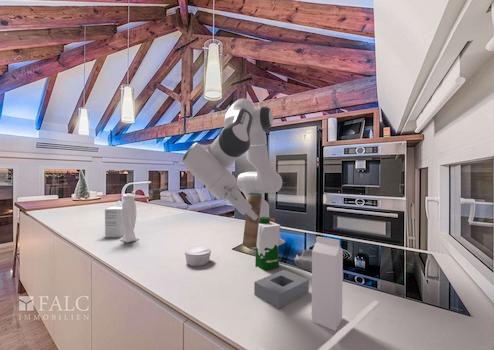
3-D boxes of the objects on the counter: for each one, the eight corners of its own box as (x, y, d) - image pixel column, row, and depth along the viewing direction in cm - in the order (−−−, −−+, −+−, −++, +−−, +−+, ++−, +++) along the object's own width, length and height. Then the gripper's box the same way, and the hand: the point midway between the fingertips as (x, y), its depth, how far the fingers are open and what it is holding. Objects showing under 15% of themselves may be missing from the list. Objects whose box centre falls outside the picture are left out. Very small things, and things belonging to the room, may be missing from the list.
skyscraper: (140, 240, 132) (140, 190, 131) (127, 244, 125) (126, 191, 125) (132, 238, 136) (132, 190, 136) (118, 241, 129) (118, 191, 129)
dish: (293, 270, 92) (293, 258, 92) (298, 258, 105) (298, 247, 105) (332, 276, 87) (332, 263, 87) (332, 263, 100) (332, 251, 100)
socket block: (284, 283, 81) (284, 269, 81) (308, 295, 73) (308, 279, 73) (254, 297, 72) (254, 281, 72) (278, 312, 64) (279, 294, 64)
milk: (319, 313, 64) (320, 233, 64) (342, 322, 60) (343, 237, 60) (311, 325, 59) (311, 238, 59) (335, 335, 55) (336, 242, 55)
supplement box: (112, 233, 147) (112, 206, 146) (127, 232, 148) (127, 206, 147) (104, 237, 137) (104, 208, 137) (121, 237, 138) (120, 208, 138)
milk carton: (270, 262, 100) (270, 216, 100) (282, 270, 92) (283, 219, 92) (252, 266, 96) (252, 217, 96) (263, 274, 88) (264, 222, 88)
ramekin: (205, 268, 94) (205, 255, 94) (179, 266, 96) (179, 253, 96) (214, 258, 105) (214, 246, 105) (191, 256, 107) (191, 245, 107)
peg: (248, 242, 78) (253, 192, 78) (258, 246, 75) (264, 193, 75) (239, 244, 74) (245, 191, 75) (250, 248, 71) (257, 193, 72)
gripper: (233, 180, 64) (268, 215, 65) (230, 178, 84) (256, 205, 85) (216, 196, 63) (252, 232, 64) (217, 191, 83) (244, 217, 85)
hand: (254, 216), depth 75 cm, fingers closed on peg, 4 cm apart
